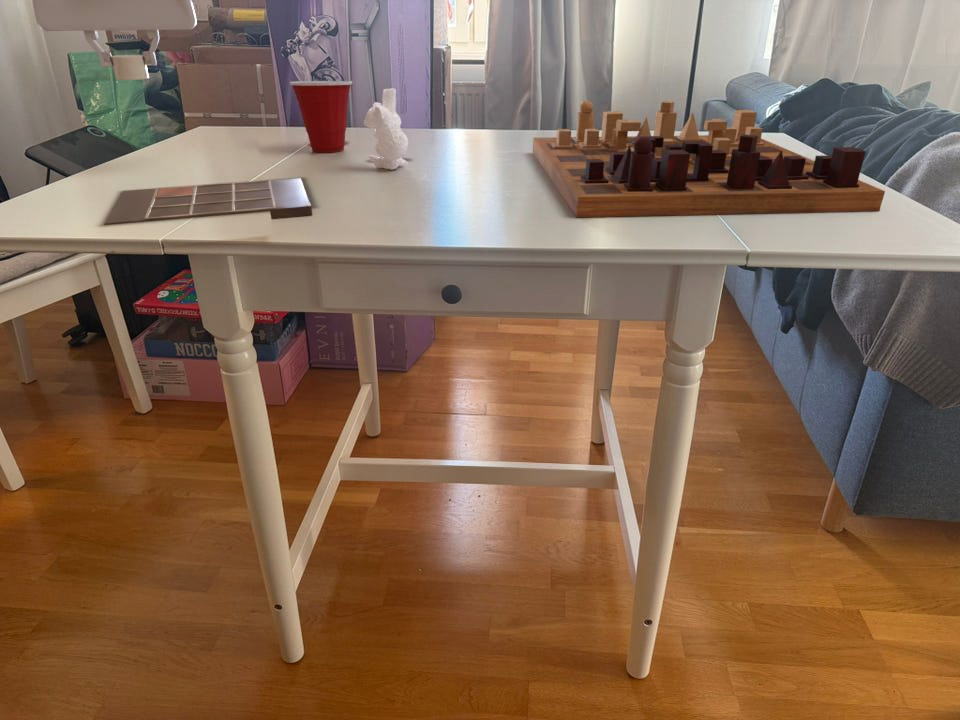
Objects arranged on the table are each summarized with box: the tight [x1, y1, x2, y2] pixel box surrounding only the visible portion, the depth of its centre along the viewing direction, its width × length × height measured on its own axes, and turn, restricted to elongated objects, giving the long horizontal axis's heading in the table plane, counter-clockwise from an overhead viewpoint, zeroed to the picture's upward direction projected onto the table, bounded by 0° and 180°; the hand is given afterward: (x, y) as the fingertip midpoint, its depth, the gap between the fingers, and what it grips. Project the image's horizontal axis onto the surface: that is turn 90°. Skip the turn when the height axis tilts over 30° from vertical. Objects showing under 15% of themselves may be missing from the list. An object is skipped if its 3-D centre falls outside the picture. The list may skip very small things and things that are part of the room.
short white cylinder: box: [111, 54, 150, 81], centre depth 97 cm, size 4×4×3 cm
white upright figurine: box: [362, 87, 409, 171], centre depth 108 cm, size 8×7×12 cm
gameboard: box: [532, 100, 886, 218], centre depth 102 cm, size 40×40×9 cm
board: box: [103, 177, 313, 226], centre depth 89 cm, size 24×16×1 cm, turn 108°
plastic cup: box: [289, 80, 353, 154], centre depth 121 cm, size 11×11×12 cm
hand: (130, 65), depth 97 cm, fingers closed on short white cylinder, 4 cm apart
